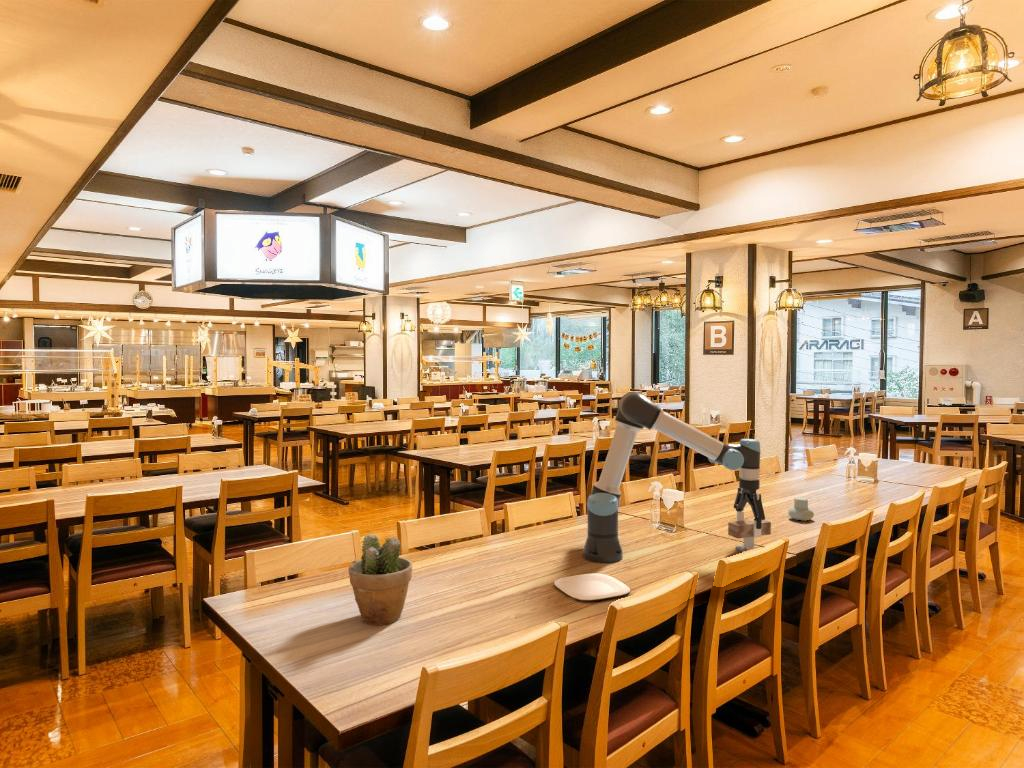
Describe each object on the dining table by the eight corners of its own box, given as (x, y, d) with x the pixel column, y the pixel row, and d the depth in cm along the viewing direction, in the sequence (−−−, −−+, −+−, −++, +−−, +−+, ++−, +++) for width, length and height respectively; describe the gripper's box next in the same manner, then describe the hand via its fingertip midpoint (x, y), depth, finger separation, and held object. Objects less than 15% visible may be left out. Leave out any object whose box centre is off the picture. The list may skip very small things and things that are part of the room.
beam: (737, 538, 243) (737, 525, 243) (728, 534, 248) (728, 522, 248) (770, 534, 248) (770, 521, 248) (760, 531, 253) (760, 518, 253)
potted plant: (335, 625, 179) (334, 538, 179) (372, 602, 197) (371, 523, 196) (391, 635, 173) (390, 545, 172) (424, 610, 190) (423, 528, 189)
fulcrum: (745, 554, 244) (745, 537, 244) (735, 548, 252) (735, 532, 252) (762, 553, 245) (762, 537, 245) (751, 547, 253) (752, 531, 252)
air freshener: (803, 516, 303) (803, 496, 302) (816, 520, 295) (817, 499, 295) (785, 518, 299) (785, 497, 299) (798, 522, 292) (798, 501, 291)
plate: (578, 607, 193) (578, 601, 193) (547, 584, 213) (547, 579, 213) (638, 596, 202) (638, 591, 202) (602, 575, 222) (602, 570, 222)
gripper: (775, 484, 235) (774, 540, 236) (742, 472, 260) (741, 523, 261) (756, 484, 234) (755, 541, 235) (725, 473, 259) (724, 524, 260)
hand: (748, 532), depth 248 cm, fingers open, 13 cm apart
